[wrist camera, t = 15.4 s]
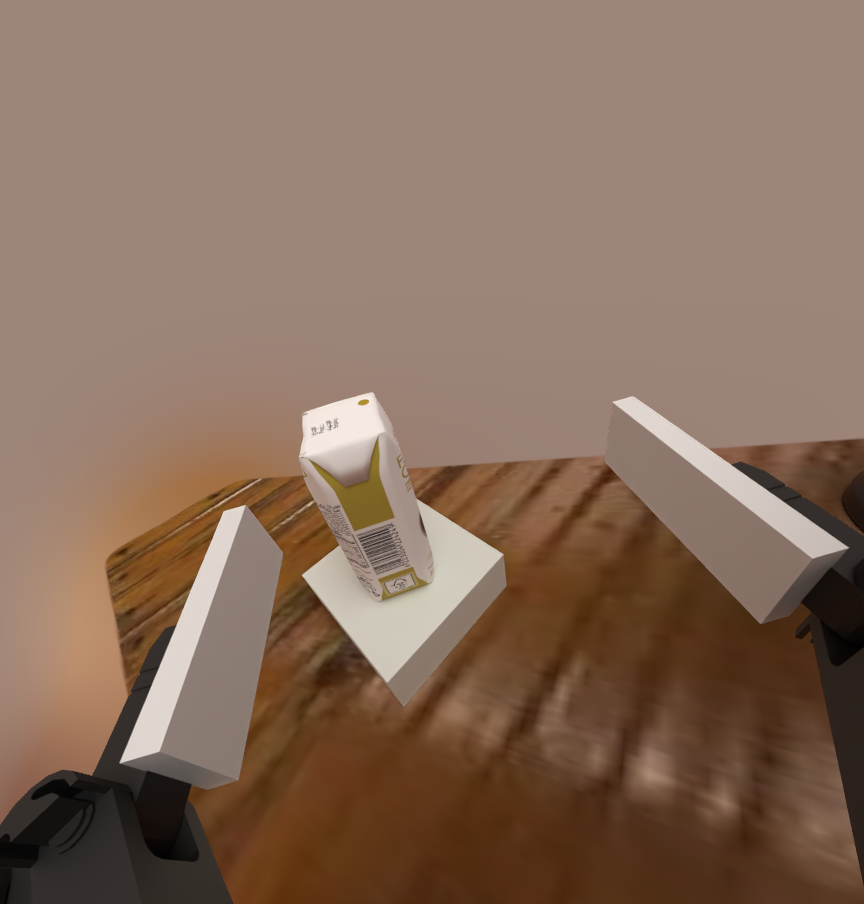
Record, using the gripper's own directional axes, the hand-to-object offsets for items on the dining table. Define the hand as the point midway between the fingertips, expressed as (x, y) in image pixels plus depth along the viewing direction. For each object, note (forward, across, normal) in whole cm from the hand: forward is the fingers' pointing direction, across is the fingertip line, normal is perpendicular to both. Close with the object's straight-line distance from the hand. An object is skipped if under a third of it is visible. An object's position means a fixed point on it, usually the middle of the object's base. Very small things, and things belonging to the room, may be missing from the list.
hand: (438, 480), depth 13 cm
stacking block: (+14, -6, -29) cm, 33 cm away
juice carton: (+14, -6, -24) cm, 28 cm away
